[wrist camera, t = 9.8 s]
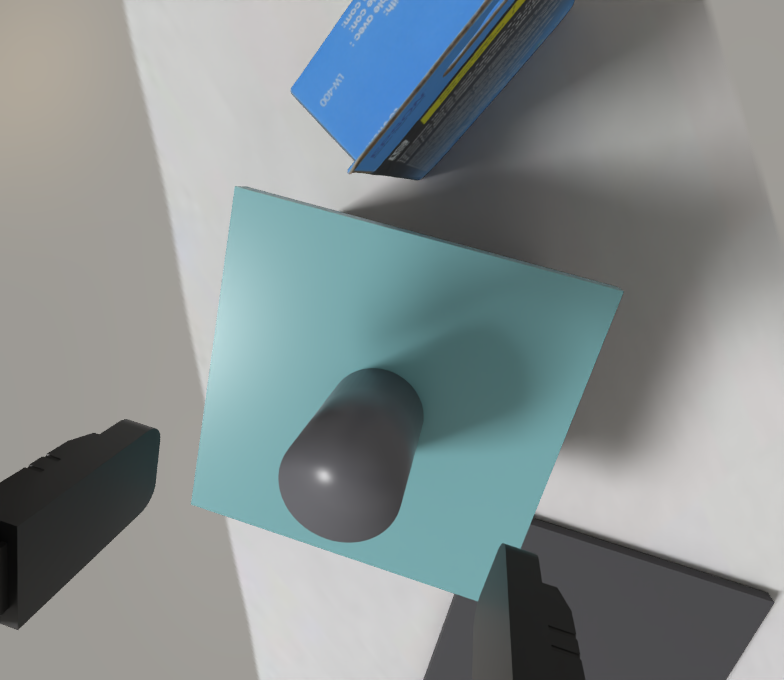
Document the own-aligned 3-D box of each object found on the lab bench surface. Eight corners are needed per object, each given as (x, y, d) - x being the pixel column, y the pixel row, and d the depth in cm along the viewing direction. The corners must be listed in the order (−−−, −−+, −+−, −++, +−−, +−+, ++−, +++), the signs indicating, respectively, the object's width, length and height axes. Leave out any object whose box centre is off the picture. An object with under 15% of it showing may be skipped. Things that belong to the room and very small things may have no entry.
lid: (246, 186, 16) (140, 184, 11) (616, 286, 15) (682, 333, 10) (202, 492, 20) (107, 592, 15) (496, 591, 19) (500, 734, 14)
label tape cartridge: (503, -68, 19) (532, -480, 7) (577, 6, 19) (717, -280, 8) (354, 125, 22) (206, 48, 10) (420, 187, 22) (348, 181, 10)
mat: (487, 503, 26) (487, 510, 25) (767, 592, 24) (774, 602, 24) (418, 694, 30) (416, 704, 30) (652, 779, 29) (656, 790, 28)
